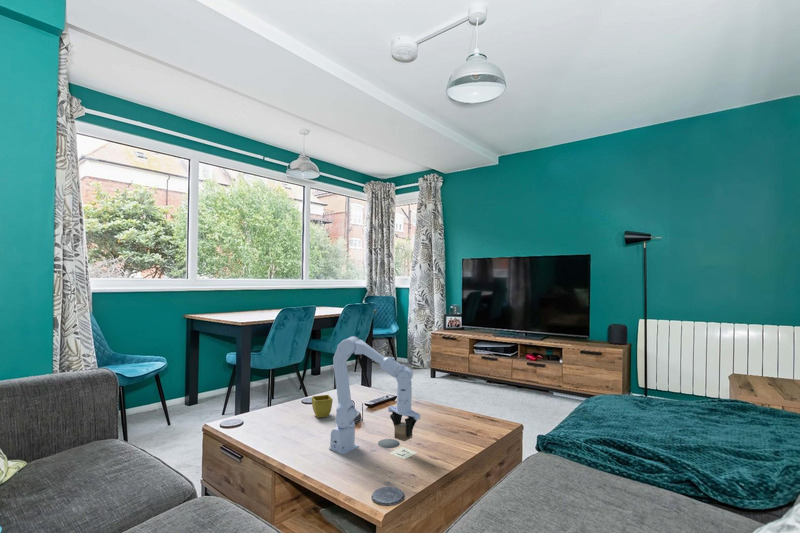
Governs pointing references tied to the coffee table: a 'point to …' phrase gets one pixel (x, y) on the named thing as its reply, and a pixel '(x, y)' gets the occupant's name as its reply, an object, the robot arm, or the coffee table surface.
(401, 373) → the robot arm
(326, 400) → the flower pot
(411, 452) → the tile
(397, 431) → the walnut block
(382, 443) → the slate coaster
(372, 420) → the coffee table surface
